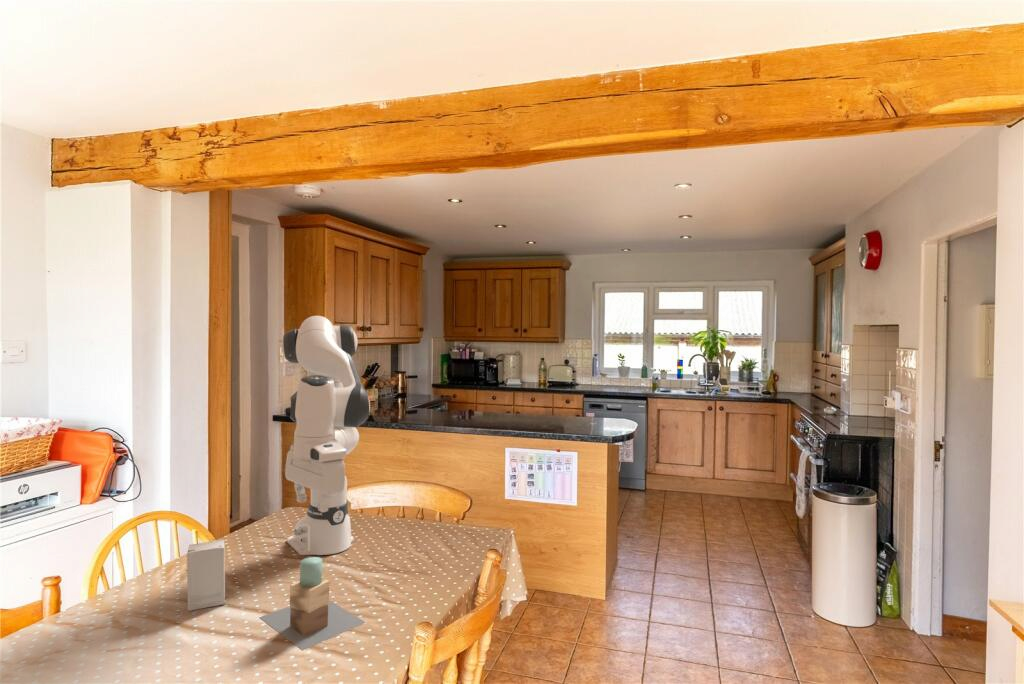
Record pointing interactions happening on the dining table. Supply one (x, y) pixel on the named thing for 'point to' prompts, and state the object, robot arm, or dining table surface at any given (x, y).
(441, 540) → the dining table surface
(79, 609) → the dining table surface
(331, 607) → the board
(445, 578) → the dining table surface
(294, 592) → the top block
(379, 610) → the dining table surface
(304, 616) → the bottom block
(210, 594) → the skincare box
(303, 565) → the mint green cylinder
